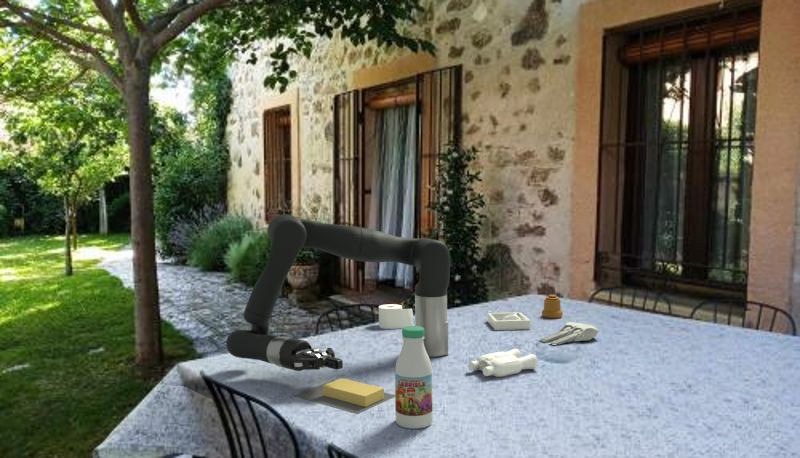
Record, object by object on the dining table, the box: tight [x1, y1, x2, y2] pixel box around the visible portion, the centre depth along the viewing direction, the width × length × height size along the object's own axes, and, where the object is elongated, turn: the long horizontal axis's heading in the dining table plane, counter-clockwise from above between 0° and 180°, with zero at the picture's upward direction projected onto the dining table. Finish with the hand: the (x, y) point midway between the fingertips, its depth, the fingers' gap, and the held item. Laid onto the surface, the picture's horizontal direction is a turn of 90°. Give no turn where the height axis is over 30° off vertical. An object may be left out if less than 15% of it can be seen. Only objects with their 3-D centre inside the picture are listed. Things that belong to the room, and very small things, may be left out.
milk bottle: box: [394, 325, 434, 430], centre depth 128 cm, size 8×8×20 cm
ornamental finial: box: [541, 294, 564, 319], centre depth 227 cm, size 8×8×8 cm
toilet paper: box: [378, 303, 414, 330], centre depth 216 cm, size 8×11×7 cm
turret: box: [539, 321, 599, 345], centre depth 194 cm, size 10×20×5 cm, turn 118°
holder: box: [486, 311, 531, 331], centre depth 215 cm, size 12×13×3 cm
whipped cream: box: [503, 312, 521, 320], centre depth 214 cm, size 8×7×5 cm
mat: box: [292, 379, 395, 415], centre depth 145 cm, size 20×14×1 cm
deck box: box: [323, 377, 385, 407], centre depth 143 cm, size 2×6×13 cm
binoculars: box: [468, 348, 539, 378], centre depth 164 cm, size 10×16×5 cm, turn 121°
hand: (340, 364), depth 145 cm, fingers closed
